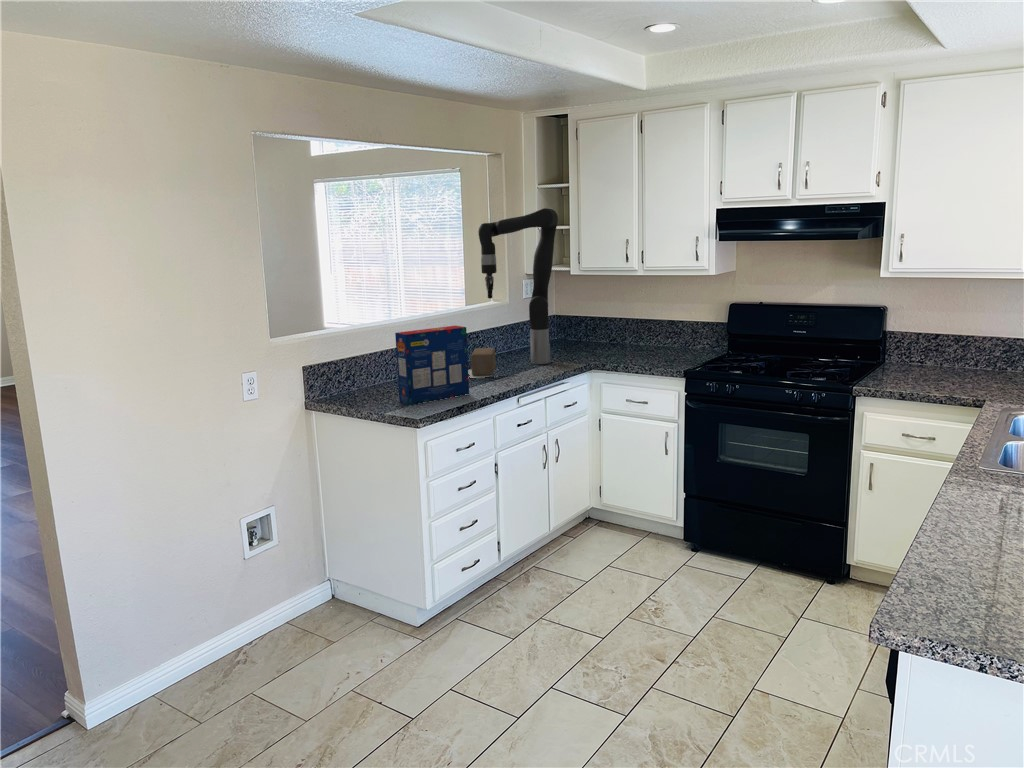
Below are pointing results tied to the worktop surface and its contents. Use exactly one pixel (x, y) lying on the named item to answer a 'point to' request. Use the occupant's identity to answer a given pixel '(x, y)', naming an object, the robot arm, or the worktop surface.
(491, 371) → the wooden block
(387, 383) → the worktop surface
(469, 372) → the mat
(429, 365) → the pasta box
